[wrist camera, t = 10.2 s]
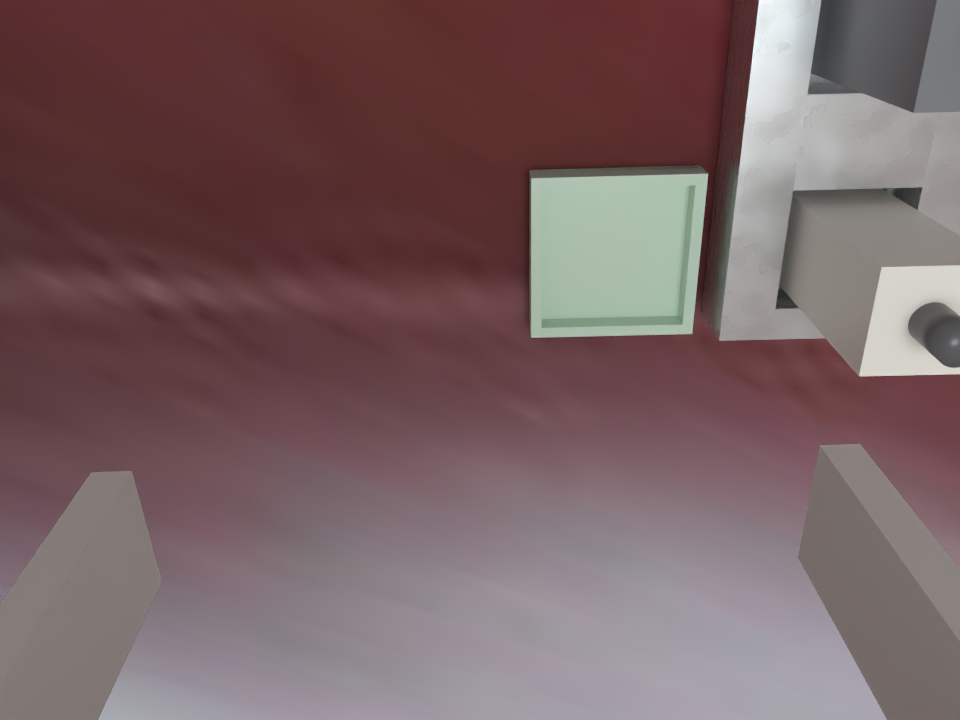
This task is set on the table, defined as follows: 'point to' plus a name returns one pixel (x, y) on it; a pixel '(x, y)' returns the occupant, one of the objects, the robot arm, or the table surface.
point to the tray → (614, 250)
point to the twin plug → (892, 51)
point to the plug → (875, 280)
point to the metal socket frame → (803, 163)
